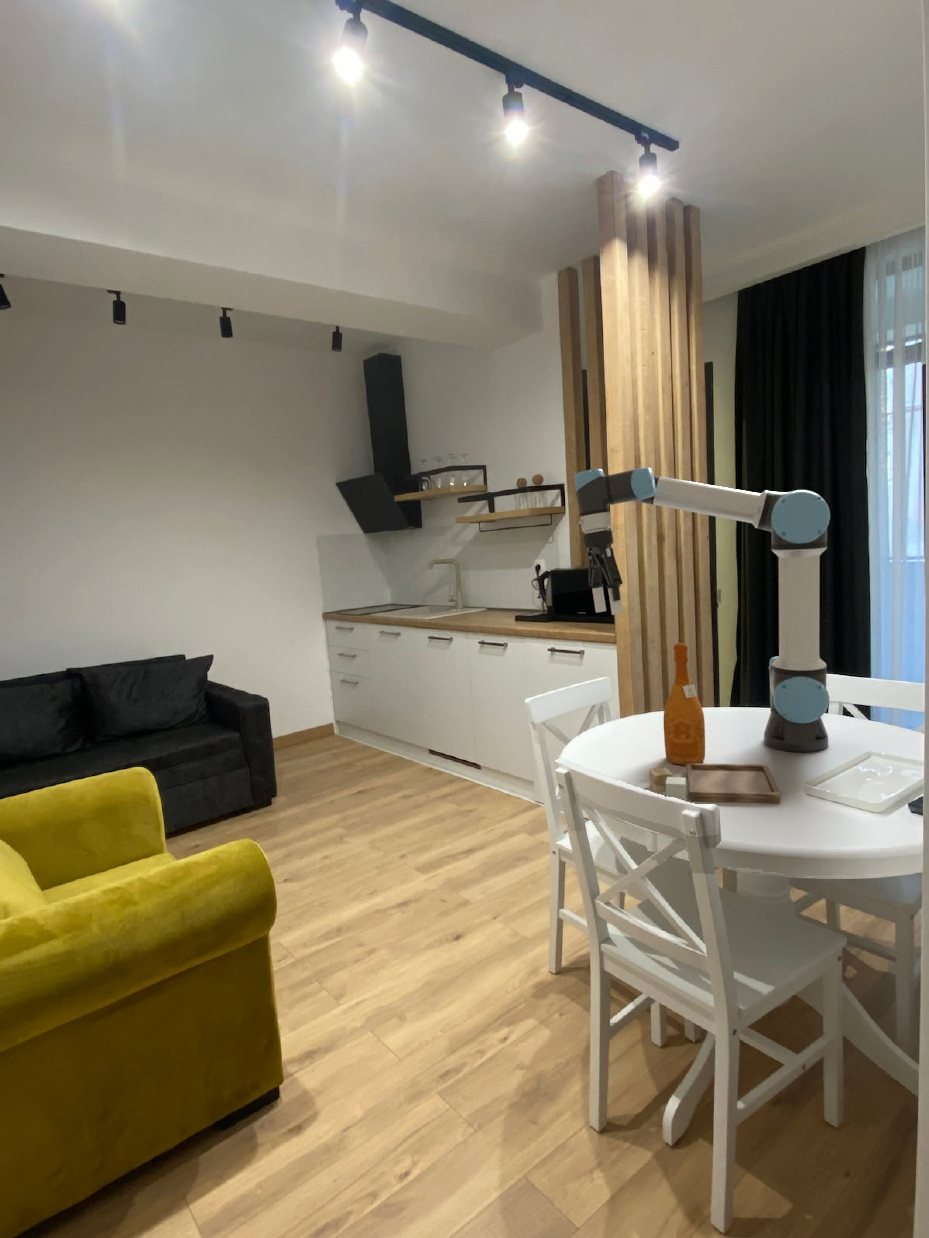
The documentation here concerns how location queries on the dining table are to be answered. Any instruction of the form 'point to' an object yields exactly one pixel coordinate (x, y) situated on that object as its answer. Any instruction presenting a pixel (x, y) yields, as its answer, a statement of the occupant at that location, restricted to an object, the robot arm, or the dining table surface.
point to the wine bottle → (683, 716)
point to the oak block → (659, 779)
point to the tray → (732, 783)
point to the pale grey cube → (676, 787)
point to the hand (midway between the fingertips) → (609, 612)
